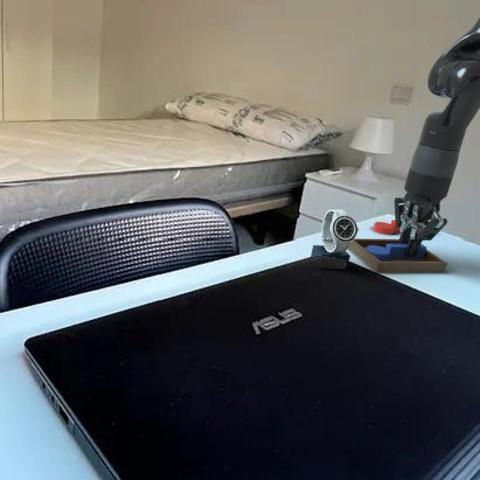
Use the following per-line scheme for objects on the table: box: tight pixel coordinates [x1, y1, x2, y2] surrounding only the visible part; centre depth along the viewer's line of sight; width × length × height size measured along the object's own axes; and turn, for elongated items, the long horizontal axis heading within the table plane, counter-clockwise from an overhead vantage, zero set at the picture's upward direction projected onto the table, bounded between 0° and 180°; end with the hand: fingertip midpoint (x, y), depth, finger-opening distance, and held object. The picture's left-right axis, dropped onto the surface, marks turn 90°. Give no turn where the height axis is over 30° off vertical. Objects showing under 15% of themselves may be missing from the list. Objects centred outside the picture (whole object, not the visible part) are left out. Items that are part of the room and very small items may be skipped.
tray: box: [347, 238, 448, 273], centre depth 100 cm, size 15×12×2 cm
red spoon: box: [372, 219, 423, 236], centre depth 116 cm, size 12×4×3 cm, turn 99°
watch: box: [310, 208, 360, 262], centre depth 94 cm, size 6×8×11 cm
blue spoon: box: [366, 243, 428, 261], centre depth 100 cm, size 12×4×3 cm, turn 99°
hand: (406, 252), depth 101 cm, fingers closed
